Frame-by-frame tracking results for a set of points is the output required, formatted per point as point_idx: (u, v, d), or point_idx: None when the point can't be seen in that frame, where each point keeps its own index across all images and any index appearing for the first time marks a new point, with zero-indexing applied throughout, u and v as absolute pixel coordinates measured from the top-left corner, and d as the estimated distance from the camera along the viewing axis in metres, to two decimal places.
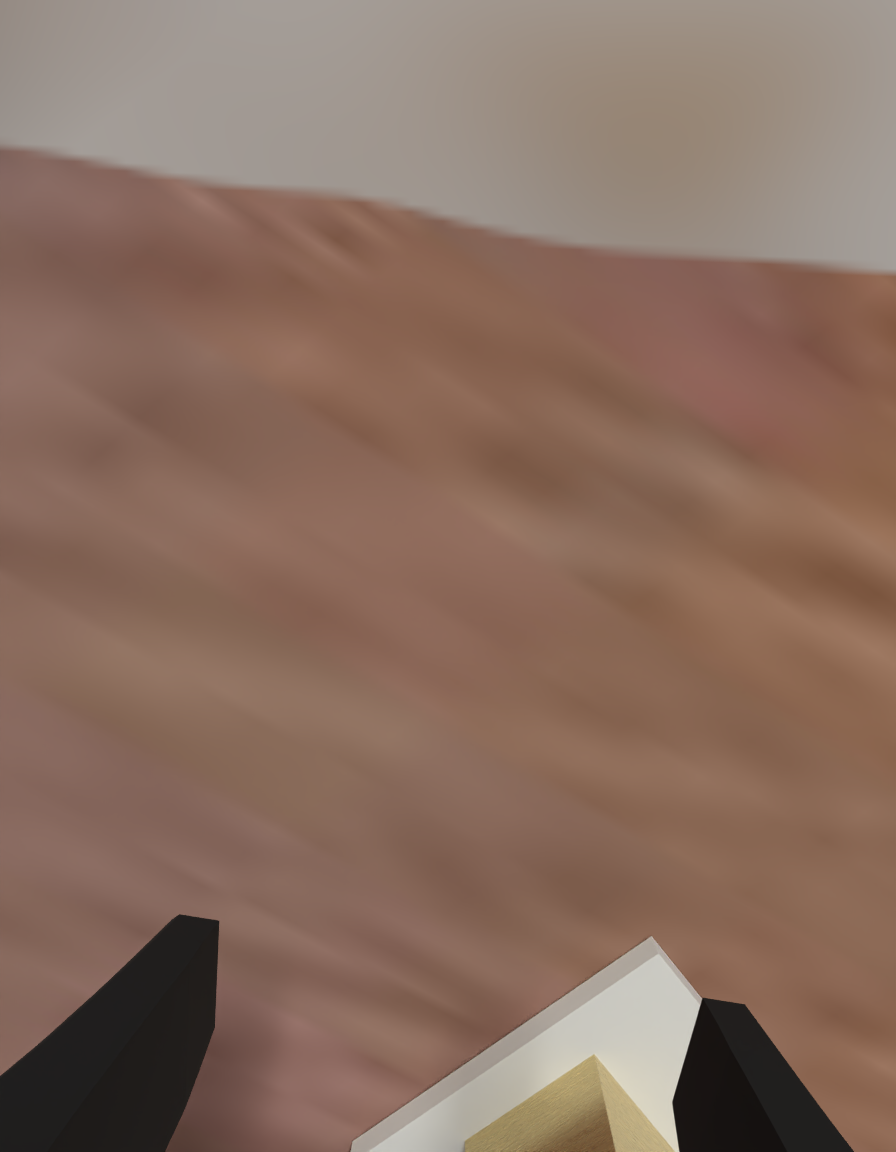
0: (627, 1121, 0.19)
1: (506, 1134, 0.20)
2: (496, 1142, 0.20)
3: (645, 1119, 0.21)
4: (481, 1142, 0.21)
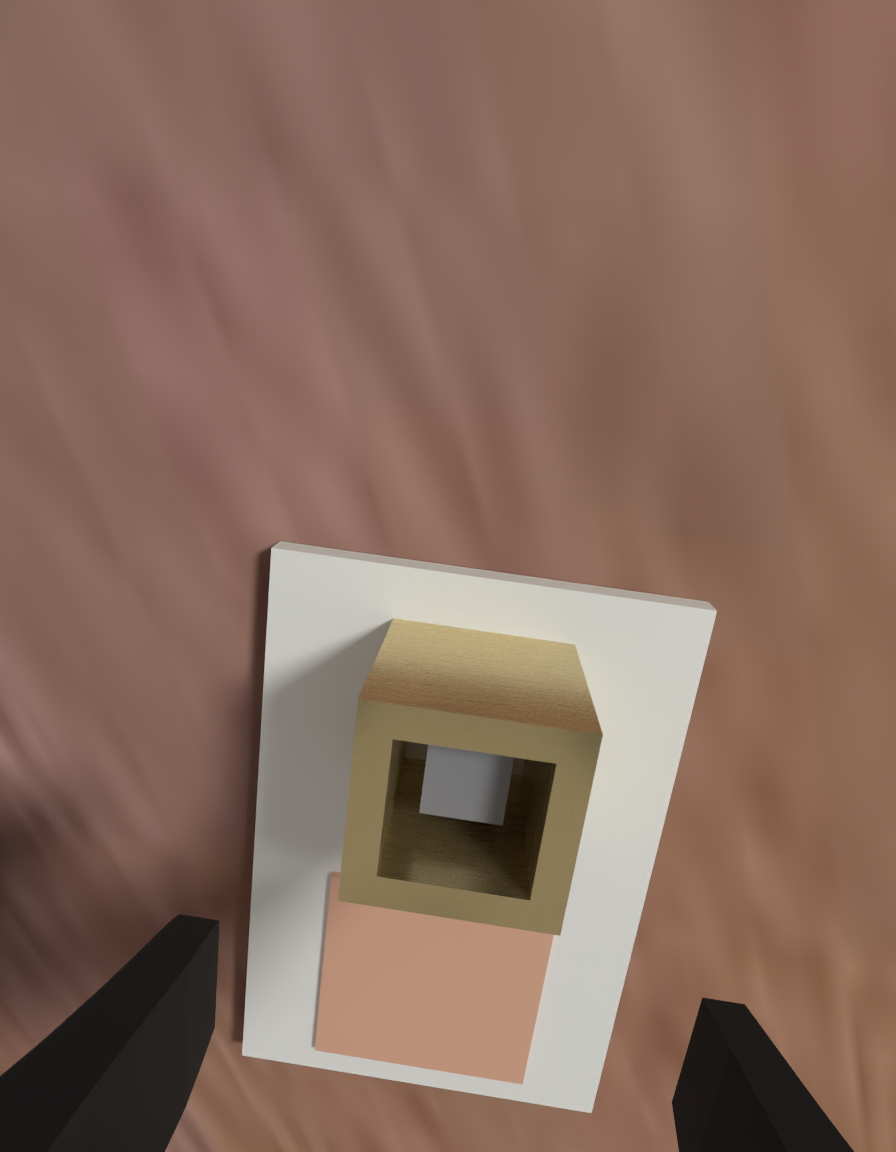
0: None
1: (449, 635, 0.18)
2: (434, 633, 0.18)
3: None
4: (415, 627, 0.18)
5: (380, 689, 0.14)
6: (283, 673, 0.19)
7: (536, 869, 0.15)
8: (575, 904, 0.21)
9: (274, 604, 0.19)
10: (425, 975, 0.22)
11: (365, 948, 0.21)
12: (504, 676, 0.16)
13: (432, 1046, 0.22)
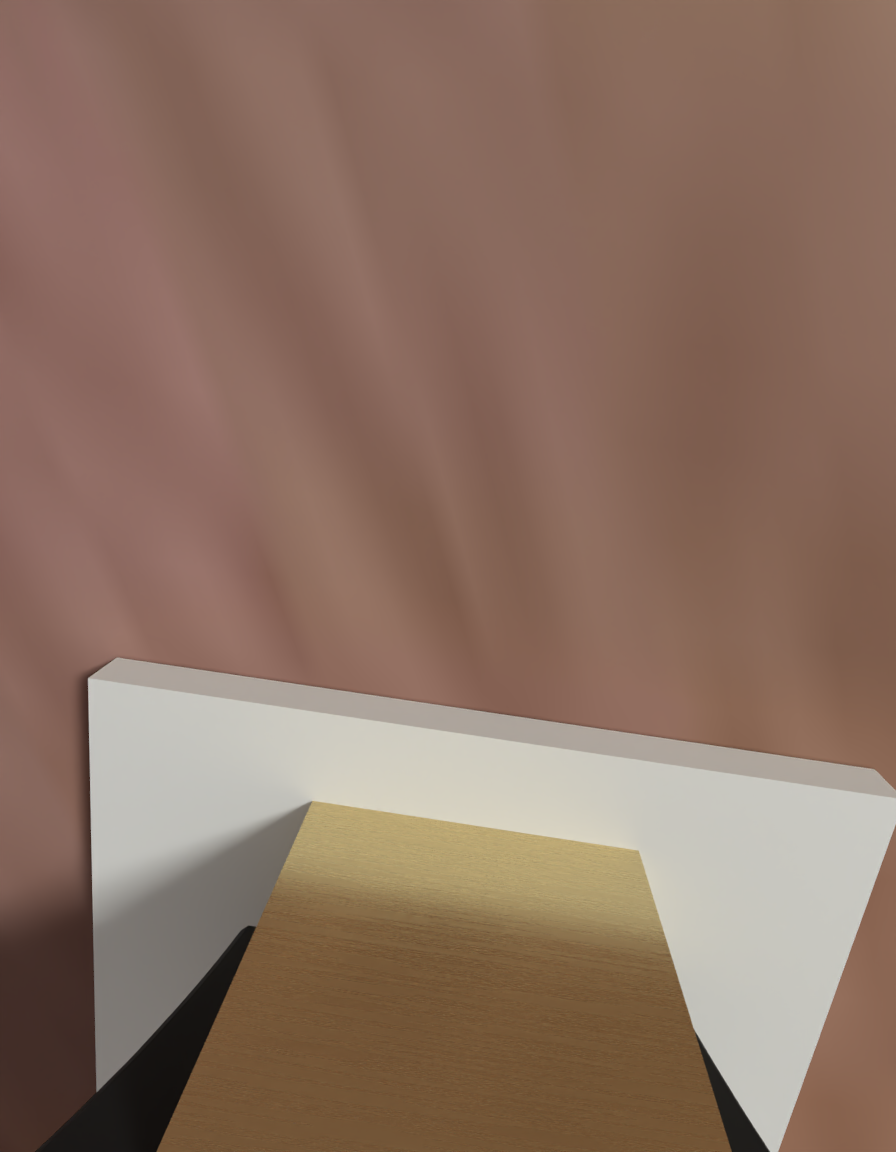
0: None
1: (409, 845, 0.10)
2: (382, 843, 0.10)
3: None
4: (349, 824, 0.10)
5: (224, 1096, 0.06)
6: (125, 886, 0.11)
7: None
8: None
9: (101, 774, 0.11)
10: None
11: None
12: (512, 990, 0.08)
13: None
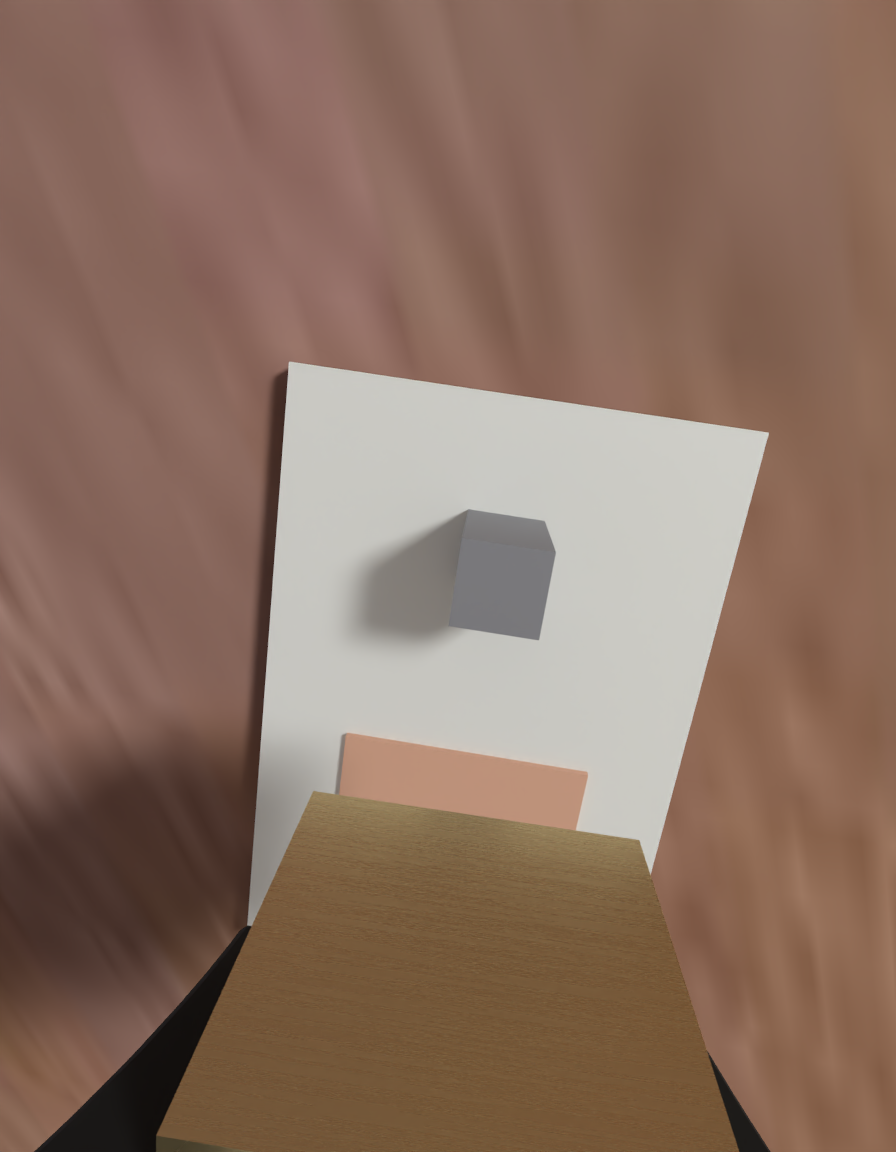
0: None
1: (410, 834, 0.10)
2: (383, 832, 0.10)
3: None
4: (349, 814, 0.10)
5: (226, 1077, 0.06)
6: (299, 506, 0.18)
7: None
8: (605, 769, 0.19)
9: (291, 427, 0.17)
10: None
11: None
12: (514, 975, 0.08)
13: None
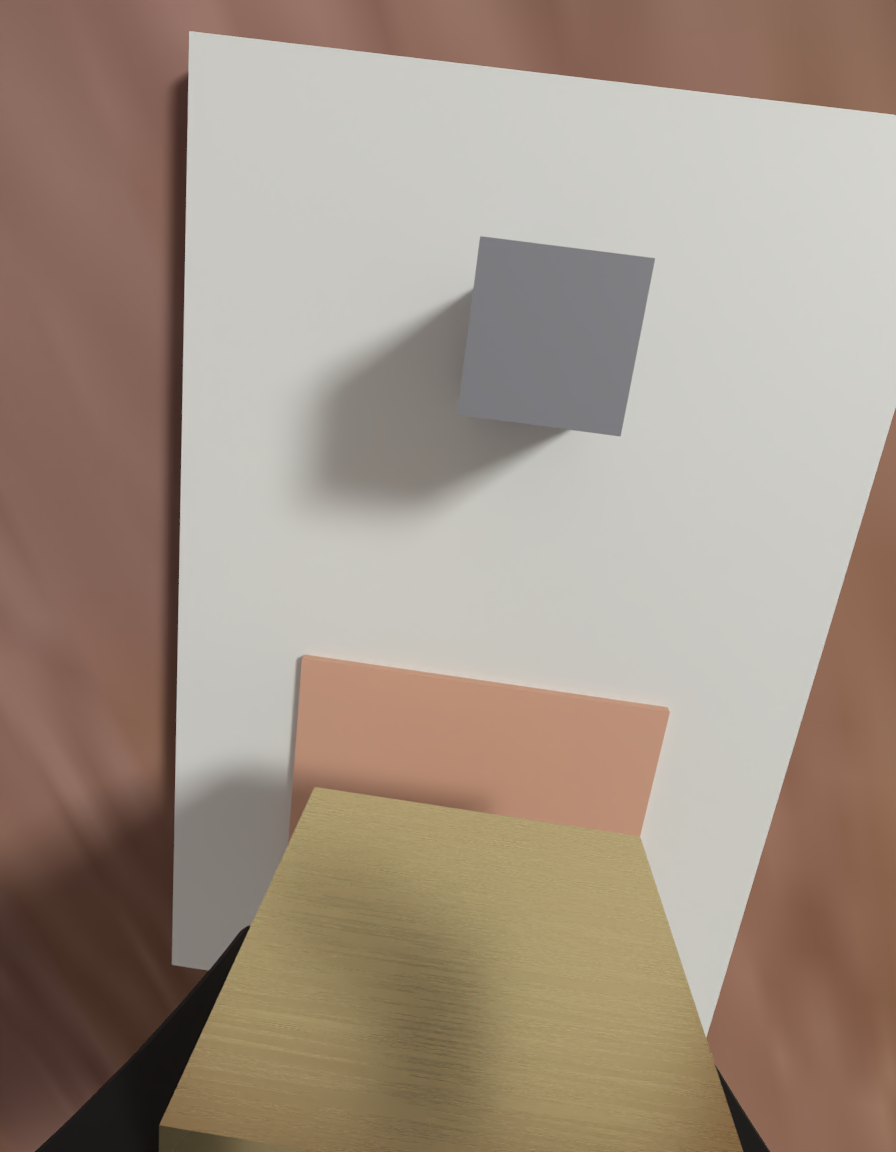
0: None
1: (411, 830, 0.10)
2: (385, 828, 0.10)
3: None
4: (351, 809, 0.10)
5: (228, 1067, 0.06)
6: (216, 288, 0.11)
7: None
8: (695, 702, 0.13)
9: (198, 150, 0.11)
10: None
11: (357, 783, 0.14)
12: (516, 969, 0.08)
13: None
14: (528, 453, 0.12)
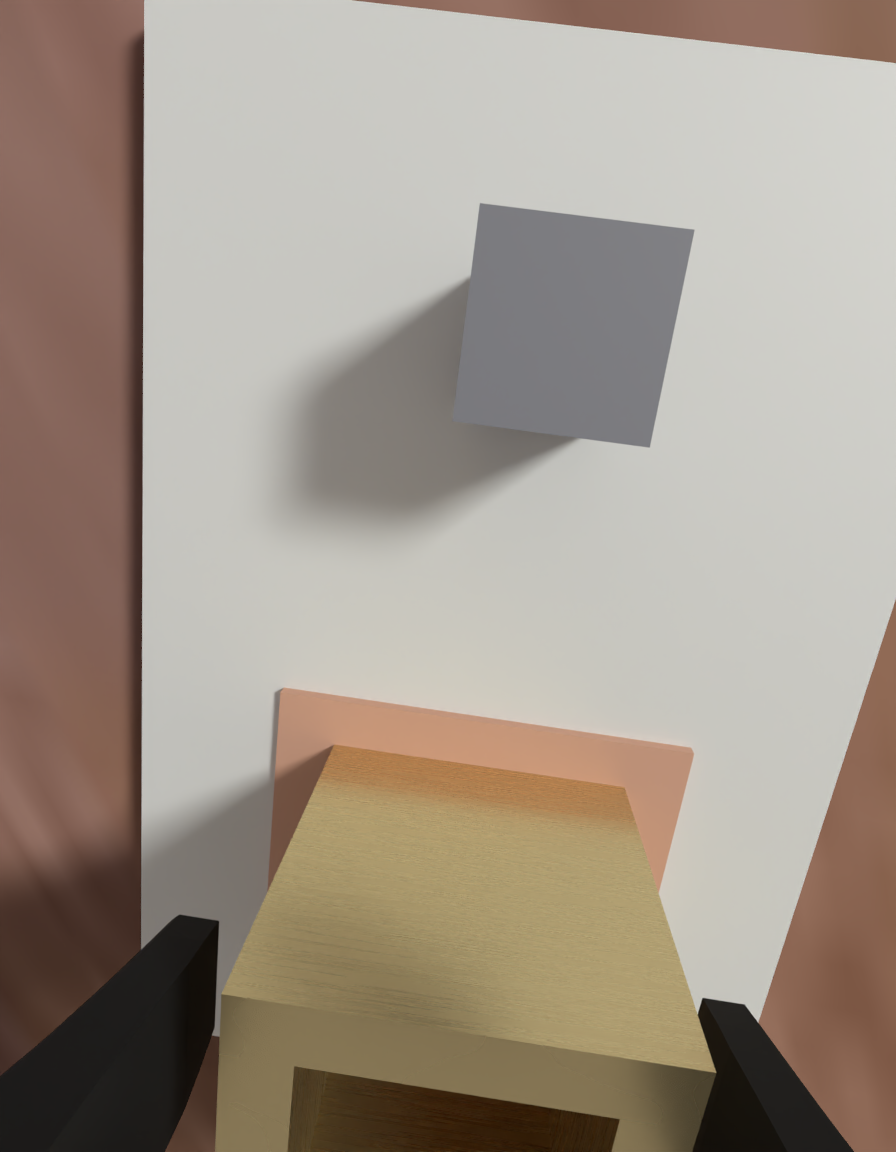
0: None
1: (421, 780, 0.11)
2: (397, 778, 0.11)
3: None
4: (367, 763, 0.11)
5: (274, 955, 0.07)
6: (180, 274, 0.10)
7: None
8: (723, 742, 0.11)
9: (156, 115, 0.09)
10: None
11: None
12: (513, 887, 0.09)
13: None
14: (535, 463, 0.10)
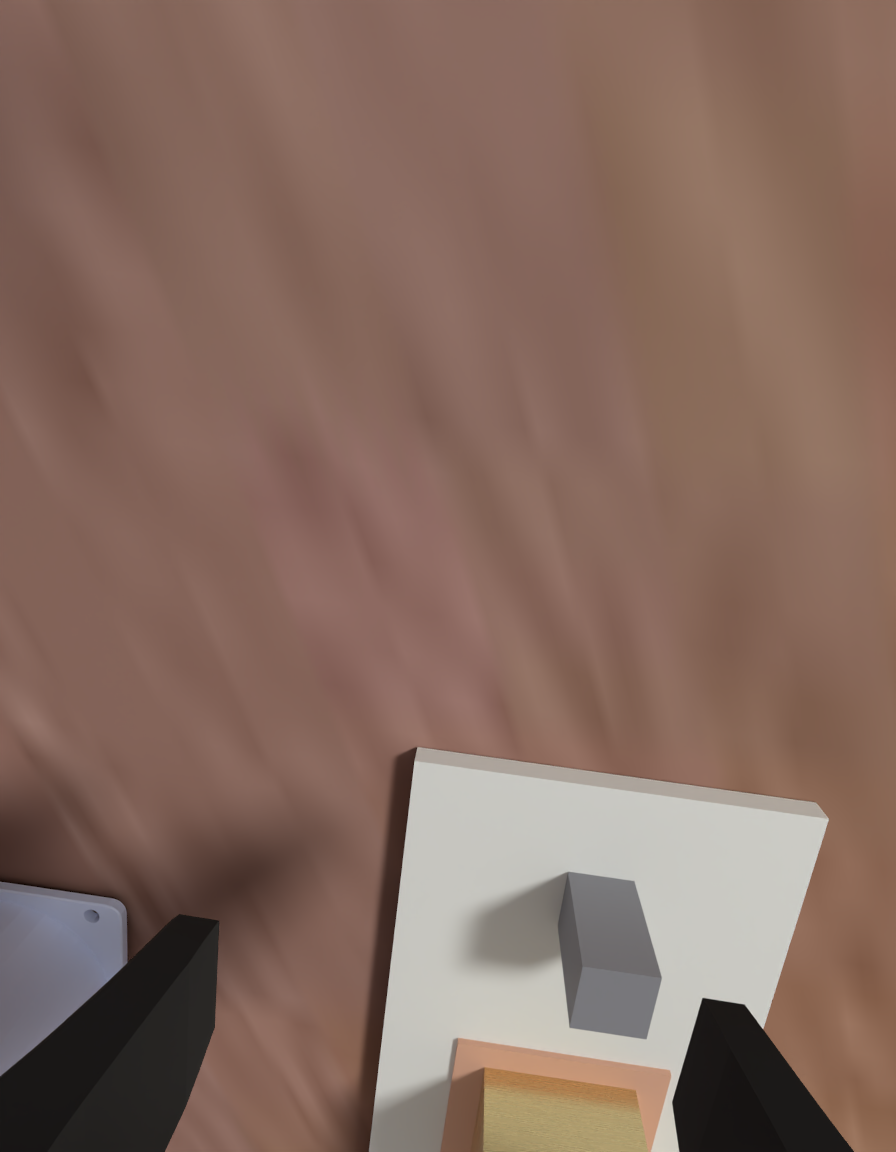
0: None
1: (533, 1095, 0.22)
2: (521, 1094, 0.22)
3: None
4: (504, 1082, 0.22)
5: None
6: (420, 867, 0.21)
7: None
8: None
9: (414, 809, 0.20)
10: None
11: None
12: None
13: None
14: None
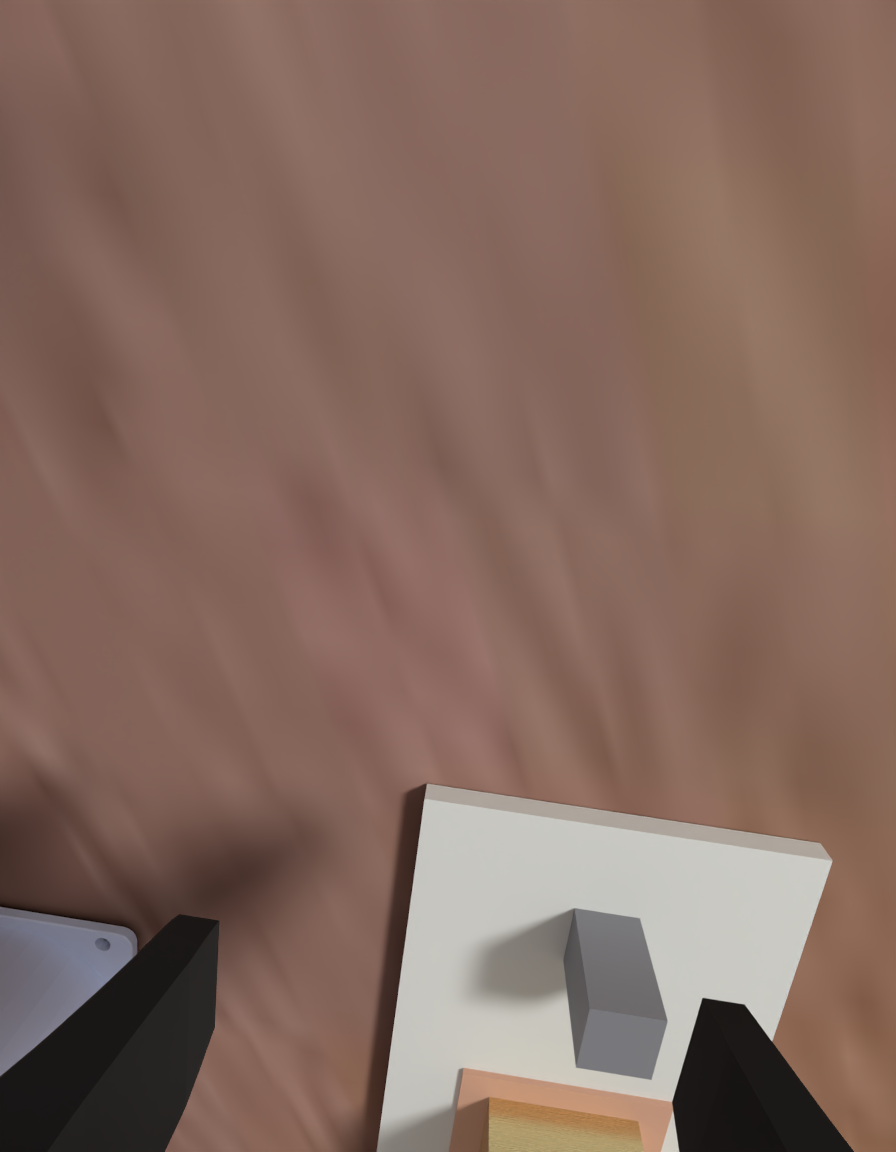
0: None
1: (537, 1126, 0.22)
2: (526, 1125, 0.22)
3: None
4: (509, 1113, 0.22)
5: None
6: (428, 902, 0.21)
7: None
8: None
9: (424, 845, 0.21)
10: None
11: None
12: None
13: None
14: None
